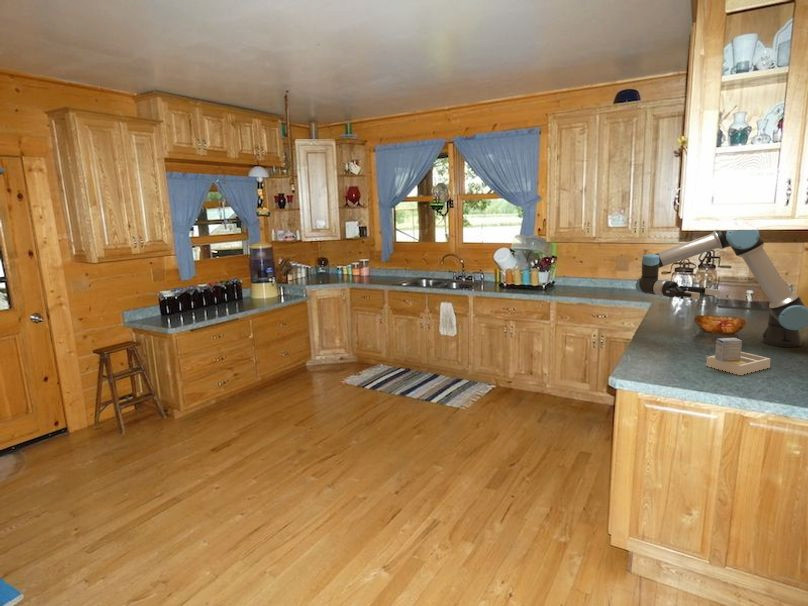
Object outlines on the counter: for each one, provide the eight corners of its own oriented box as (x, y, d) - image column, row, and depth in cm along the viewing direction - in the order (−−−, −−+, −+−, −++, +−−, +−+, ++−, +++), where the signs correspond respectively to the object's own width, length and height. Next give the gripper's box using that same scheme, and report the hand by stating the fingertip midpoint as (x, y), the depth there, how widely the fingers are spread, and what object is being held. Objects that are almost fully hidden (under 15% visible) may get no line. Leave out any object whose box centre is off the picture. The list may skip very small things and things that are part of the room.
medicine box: (733, 357, 203) (734, 337, 202) (740, 360, 199) (742, 340, 197) (714, 358, 203) (716, 338, 202) (721, 361, 199) (723, 341, 197)
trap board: (735, 359, 215) (736, 349, 214) (769, 367, 202) (770, 357, 201) (706, 366, 207) (706, 356, 206) (740, 375, 194) (741, 365, 194)
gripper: (683, 293, 241) (727, 300, 221) (647, 299, 231) (689, 306, 212) (684, 278, 239) (728, 283, 220) (648, 283, 229) (690, 289, 210)
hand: (709, 294), depth 216 cm, fingers open, 13 cm apart
